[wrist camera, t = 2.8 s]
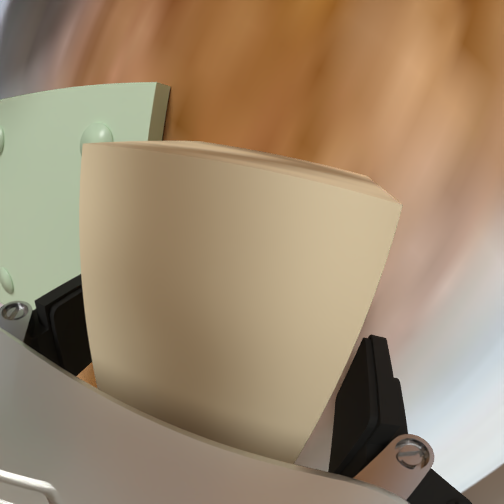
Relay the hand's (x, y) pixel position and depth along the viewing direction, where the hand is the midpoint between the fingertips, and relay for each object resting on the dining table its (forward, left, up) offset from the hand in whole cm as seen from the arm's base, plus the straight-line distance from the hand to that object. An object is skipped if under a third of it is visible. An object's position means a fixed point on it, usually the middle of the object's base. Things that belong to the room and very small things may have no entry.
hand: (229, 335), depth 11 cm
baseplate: (+11, -1, -2) cm, 12 cm away
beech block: (0, 0, -2) cm, 2 cm away
